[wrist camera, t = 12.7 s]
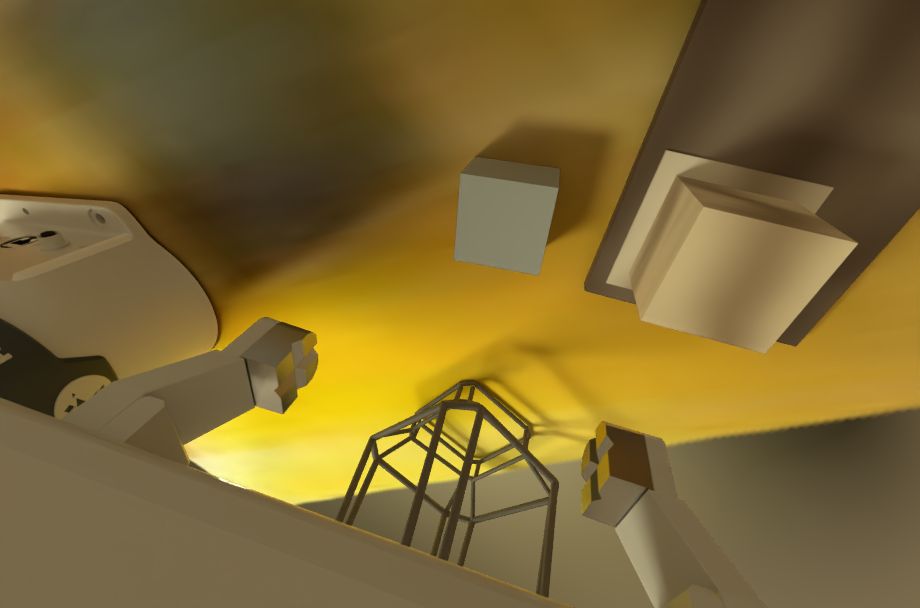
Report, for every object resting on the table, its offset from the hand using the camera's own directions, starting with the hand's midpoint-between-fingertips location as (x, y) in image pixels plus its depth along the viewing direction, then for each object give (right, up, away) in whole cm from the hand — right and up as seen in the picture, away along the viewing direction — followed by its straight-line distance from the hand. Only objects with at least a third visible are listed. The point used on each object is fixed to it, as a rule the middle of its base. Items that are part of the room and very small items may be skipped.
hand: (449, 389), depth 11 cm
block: (+14, +6, +11) cm, 18 cm away
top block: (+3, +9, +13) cm, 16 cm away
